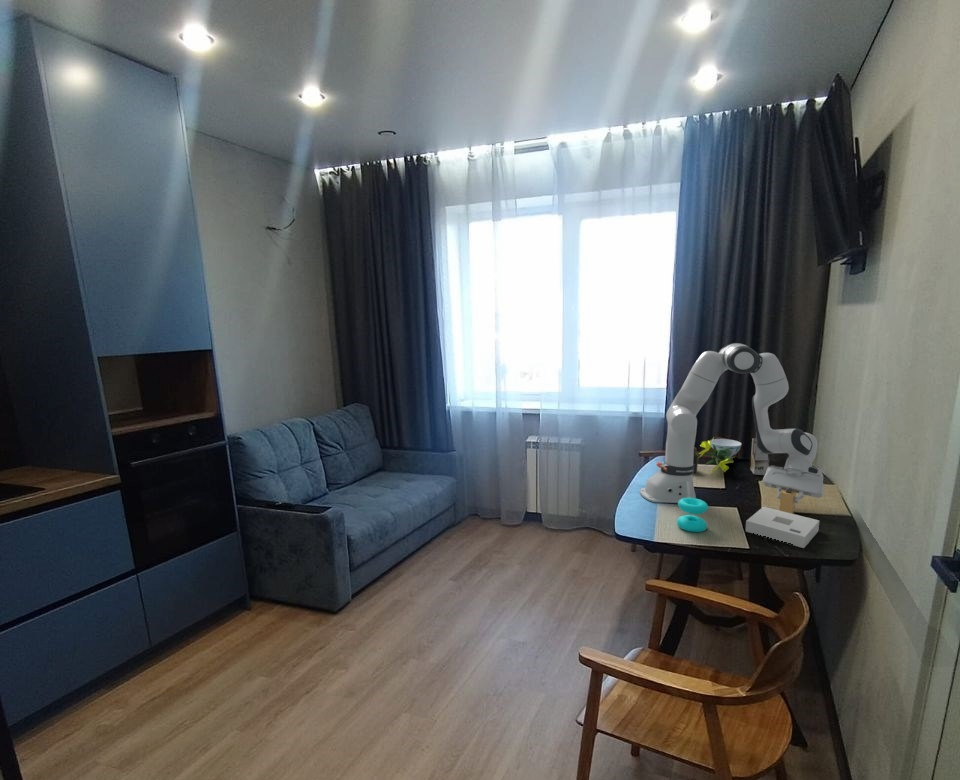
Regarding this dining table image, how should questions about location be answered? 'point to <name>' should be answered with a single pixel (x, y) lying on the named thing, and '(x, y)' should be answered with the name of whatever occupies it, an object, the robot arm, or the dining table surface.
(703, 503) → the donuts
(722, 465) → the daffodil flowers
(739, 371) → the robot arm
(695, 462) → the supplement bottle
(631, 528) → the dining table surface
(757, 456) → the coffee box
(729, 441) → the chinaware
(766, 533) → the socket block
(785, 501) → the tan rectangular block
